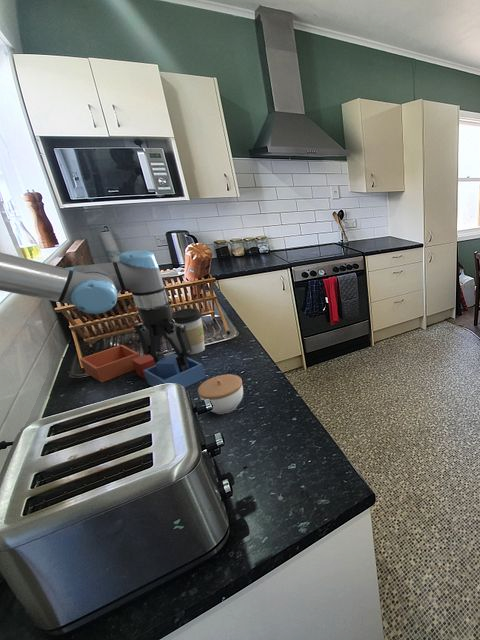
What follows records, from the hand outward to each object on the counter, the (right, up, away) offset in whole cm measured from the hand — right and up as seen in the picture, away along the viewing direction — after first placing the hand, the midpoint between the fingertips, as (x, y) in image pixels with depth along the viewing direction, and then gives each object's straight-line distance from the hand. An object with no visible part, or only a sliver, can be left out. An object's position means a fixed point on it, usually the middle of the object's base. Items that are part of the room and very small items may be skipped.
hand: (175, 373), depth 109 cm
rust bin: (-24, 0, +6) cm, 25 cm away
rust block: (-12, -1, +5) cm, 12 cm away
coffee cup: (-6, +6, +19) cm, 21 cm away
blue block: (0, 0, 0) cm, 0 cm away
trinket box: (+22, -8, -10) cm, 25 cm away
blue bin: (0, -3, +1) cm, 3 cm away
